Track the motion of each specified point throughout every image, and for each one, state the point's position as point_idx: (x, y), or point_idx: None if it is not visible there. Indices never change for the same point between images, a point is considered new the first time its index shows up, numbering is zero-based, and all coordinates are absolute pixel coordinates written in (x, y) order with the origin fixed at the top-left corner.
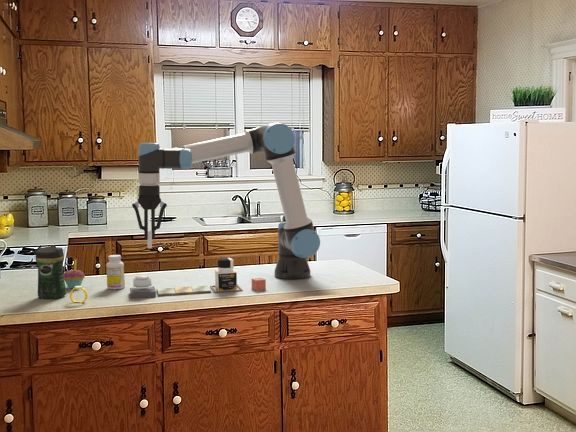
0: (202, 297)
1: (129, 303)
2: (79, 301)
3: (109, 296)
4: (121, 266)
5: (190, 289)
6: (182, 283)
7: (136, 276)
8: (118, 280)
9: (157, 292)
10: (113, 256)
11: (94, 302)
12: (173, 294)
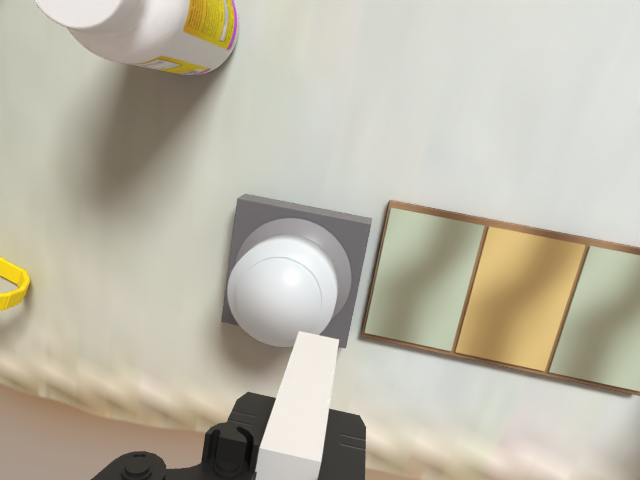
0: (550, 452)
1: (211, 391)
2: (7, 266)
3: (141, 215)
4: (166, 48)
5: (553, 317)
6: (600, 74)
7: (246, 278)
8: (181, 71)
9: (374, 274)
10: (62, 4)
11: (71, 300)
12: (437, 350)
